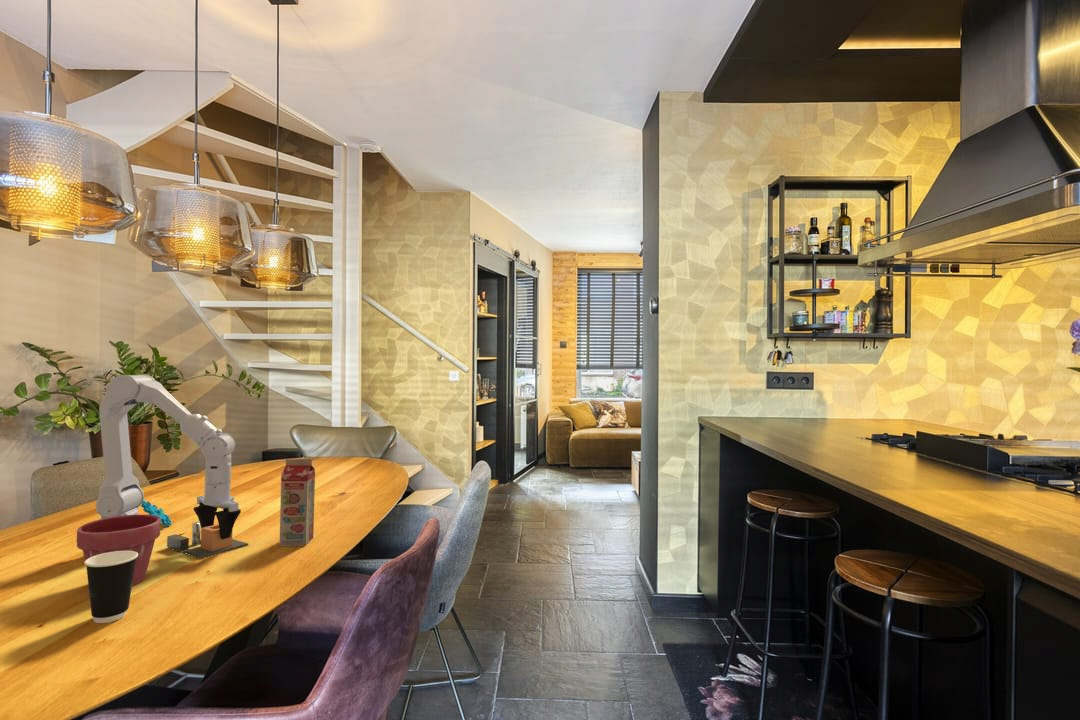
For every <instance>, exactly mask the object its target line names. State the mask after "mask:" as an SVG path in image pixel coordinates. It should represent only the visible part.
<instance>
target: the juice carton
mask: <svg viewBox="0 0 1080 720" xmlns="http://www.w3.org/2000/svg"><path fill="white" fill-rule="evenodd" d="M315 480H316V469H315V467H314V466H313V459H306V458H305V459H303V458H298V459H297V458H293V459H292V458H289V459H288V458H286V459H285V466H284V468H283V471H282V473H281V475H280V507H279V508H280V510H279V511H280V513H279V514H280V516H279V517H280V518H279V545H278V546H279V547H290V546H291V547H292V546H293V547H302V546H304V547H305V546H307V545H308V544H309V543H310V542H311V541H312V540H313V539H314V531H315V530H314V529H315V527H314V523H315V521H314V520H315V493H316V491H315V490H316V489H315V487H316V481H315Z"/></svg>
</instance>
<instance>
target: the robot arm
mask: <svg viewBox="0 0 1080 720" xmlns="http://www.w3.org/2000/svg"><path fill="white" fill-rule="evenodd" d="M105 390H106V391H105V394H104V396H103V397H102V400H101V402H100V404H99V408H98V409H99V410H98V413H99V422H100V433H101V434H100V435H101V445H102V446H101V447H102V455H103V456H102V457H103V468H104V469H103V470H104V480H103V482H102V483H101V484H100V486H99V488H98V497H97V500H96V501H95V510H96V513H97V514H98V515H99V516H100V518H99V519H98V520H100V519H105V518H110V517H116V516H125V515H139V507H141V505H142V503H143V501H145V500H144V499H145V493H144V491H143V489H142V488H141V486H140V482H139V481H140V480H139V479H138V478H137V477H136V476H135V475H134V474H133V463H132V452H131V444H130V443H131V441H130V432H129V419H128V412H129V411H131V410H132V409H133V408H134V407H135V406H137V404H139V403H149V404H152V405H155V407H157V408H159V409H160V410H161V411H163V413H165V414H167V415H168V416H169V417H171V418H173V419H174V420H175V421H176V422H177V423H179V430H180V432H181V433H183V434H184V435H185V436H186V437H188V438H189V440H191V441H193V443H195V444H196V445H197V446H199V448H201V450H200V451H201V454H202V456H204V457H205V467H204V469H205V474H204V475H205V476H204V495H198V496H197V497H196V504H197V505H198V506H195V507H193V511H194V513H195V514H196V516H197V518H198V522H200V529H201V528H204V527H208V526H212V525H215V518H216V519H217V524H219V532H220V538H221V539H226V538H230V536H231V532H232V533H233V528H234V525H235V523H236V521H237V519H238V517H239V516H240V514H241V512H242V511H241V508H239V502H238V501H235V497H234V496H231V484H232V453H234V451H235V449H236V441H235V438H234V437H232V435H231V434H229V433H225V432H224V433H223V430H222V429H221V428H217V427H215V425H213V424H212V423H211V422H210V421H208V420H209V417H208V416H207V415H201V414H200V413H191V412H190V411H189V410H188V408H186V407H185V406H184V405H183V404H182V403H181V402H179V401H178V400H177V399H176V398H175V397H174V396H173V395H172V394H171V393H170V392H169V391H167V389H166V388H165V387H164V386H163V384H162V383H161V382H159V381H158V380H155V378H154V377H152V376H151V375H149V374H145V373H144V374H131V375H130V374H121V375H117V376H116V377H114V378H113V379H112V380H110V381H109V382H108V383H107V384H106V385H105ZM218 509H220V510H219V511H218ZM221 509H222V510H221ZM93 521H94V520H93ZM93 521H91V522H93Z"/></svg>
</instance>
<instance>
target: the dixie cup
mask: <svg viewBox="0 0 1080 720" xmlns="http://www.w3.org/2000/svg"><path fill="white" fill-rule="evenodd" d="M137 557H138V553H137V552H134V551H115V552H108V553H103V554H99V555H96V556H93V557H90V558H88V559H87V560H86V561H85V560H84V565H85V566H86V573H87V574H86V576H87V585H88V594H89V602H90V603H89V604H90V613H91V617H92V619H93V622H94V623H97V624H106V623H111V622H116V621H119V620H121V619H123V618H124V617H126V615H127V611H128V609H129V607H130V600H131V593H132V589H133V585H132V582H133V576H134V569H135V563H136V558H137ZM120 618H121V619H120Z"/></svg>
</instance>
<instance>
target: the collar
mask: <svg viewBox="0 0 1080 720" xmlns="http://www.w3.org/2000/svg"><path fill="white" fill-rule="evenodd" d="M232 539H233V531H232V532H231V536H230V538H226V539H221V538H220V532H219V523H216V524H214V525H212V526H208V527H204V528H201V527H200V546H201V548H203V549H206V550H210V551H216V550H219V549H223V548H226V547H230V546H232Z"/></svg>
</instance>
